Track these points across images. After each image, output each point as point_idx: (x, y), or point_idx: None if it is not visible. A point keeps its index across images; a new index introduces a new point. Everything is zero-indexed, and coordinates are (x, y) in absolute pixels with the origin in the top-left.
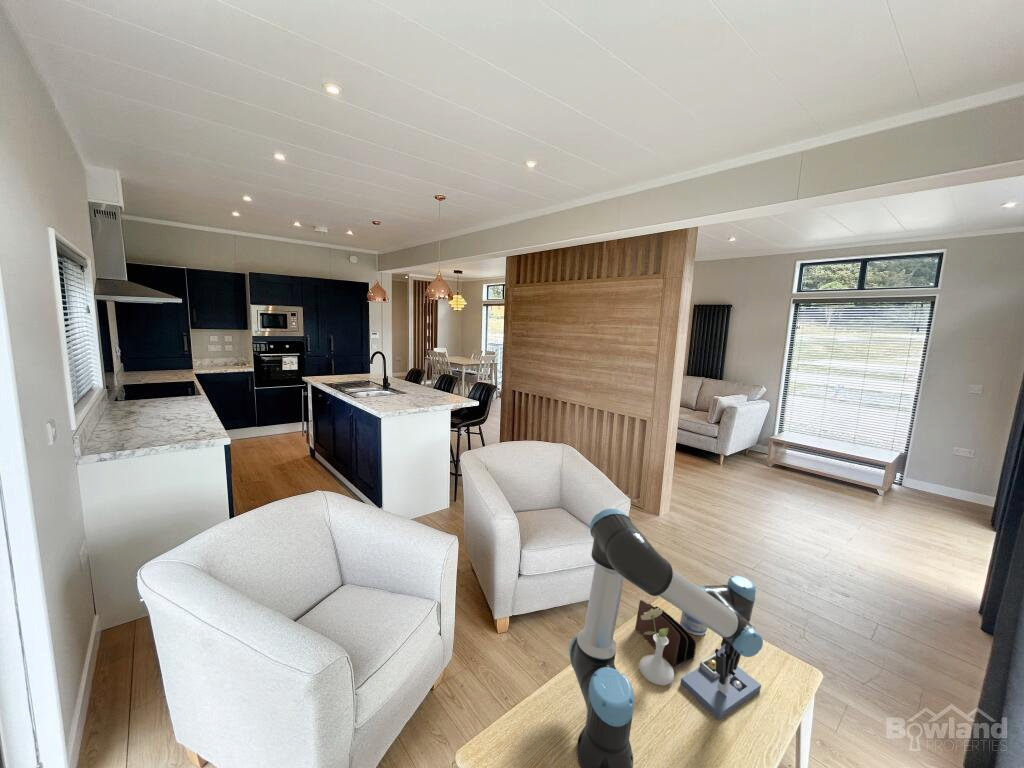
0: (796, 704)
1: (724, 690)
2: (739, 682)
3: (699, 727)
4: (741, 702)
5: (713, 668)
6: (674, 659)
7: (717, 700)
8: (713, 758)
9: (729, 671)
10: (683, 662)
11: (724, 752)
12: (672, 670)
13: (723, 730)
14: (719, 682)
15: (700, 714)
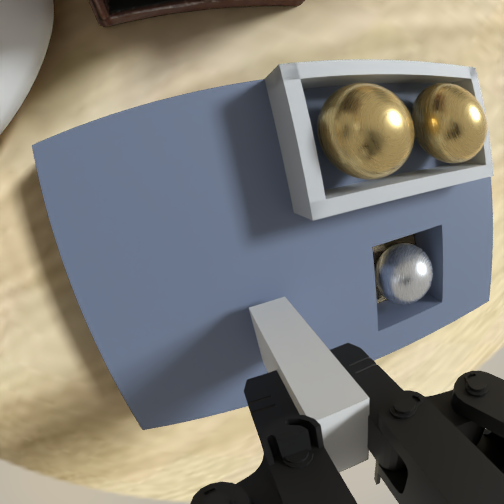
0: (497, 346)
1: (268, 370)
2: (427, 285)
3: (35, 399)
4: None
5: (347, 168)
6: None
7: (184, 370)
8: (48, 475)
9: (381, 466)
10: (193, 3)
11: (95, 477)
12: (6, 81)
13: (139, 433)
14: (266, 347)
15: (65, 355)
